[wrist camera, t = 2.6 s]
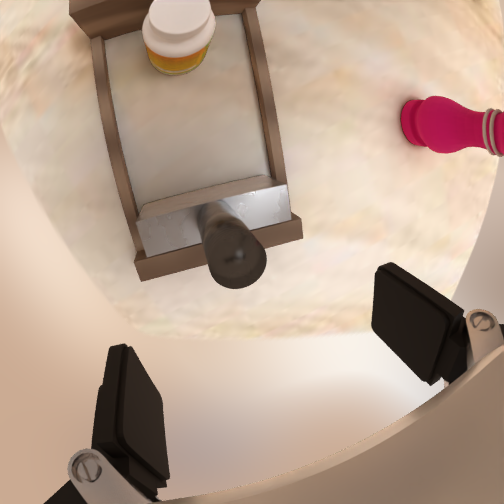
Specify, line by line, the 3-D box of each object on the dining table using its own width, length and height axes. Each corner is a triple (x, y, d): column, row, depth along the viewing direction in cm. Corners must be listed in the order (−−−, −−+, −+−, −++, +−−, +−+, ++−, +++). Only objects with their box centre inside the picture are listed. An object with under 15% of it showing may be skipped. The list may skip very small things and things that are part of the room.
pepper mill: (436, 142, 31) (558, 173, 14) (404, 154, 31) (543, 194, 13) (425, 93, 28) (555, 104, 10) (391, 100, 28) (540, 109, 10)
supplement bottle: (209, 71, 22) (227, 38, 14) (151, 81, 21) (139, 51, 13) (202, 24, 20) (218, -24, 11) (147, 33, 19) (136, -13, 10)
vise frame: (92, 20, 17) (69, -13, 10) (246, -9, 19) (270, -47, 12) (146, 267, 28) (139, 310, 21) (288, 230, 31) (323, 259, 24)
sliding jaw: (143, 204, 25) (116, 267, 13) (264, 174, 27) (340, 209, 15) (152, 233, 27) (137, 315, 14) (268, 203, 29) (342, 258, 16)
